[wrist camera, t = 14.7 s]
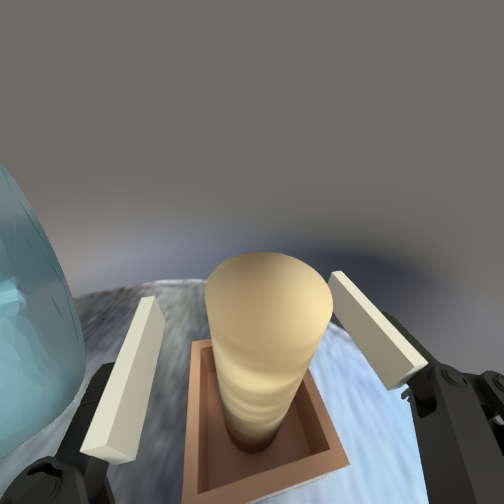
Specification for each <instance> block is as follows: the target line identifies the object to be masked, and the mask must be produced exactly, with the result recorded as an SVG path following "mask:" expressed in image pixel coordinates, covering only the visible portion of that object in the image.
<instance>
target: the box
mask: <svg viewBox="0 0 504 504" xmlns="http://www.w3.org/2000/svg"><path fill="white" fill-rule="evenodd" d="M349 465H350V463H349V461H348V458H347V456H346V454H345V451H344V449H343V447H342V444H341V442H340V440H339V437H338V435H337V433H336V431H335V428H334V426H333V424H332V421H331V419H330V417H329V414H328V412H327V410H326V407H325V405H324V403H323V400H322V398H321V396H320V393H319V391H318V389H317V387H316V384H315V382H314V380H313V377H312V375H311V373H310V370H309V368H307V370H306V372H305V374H304V376H303V378H302V381H301V383H300V385H299V387H298V389H297V391H296V394H295V396H294V398H293V400H292V402H291V404H290V406H289V409H288V411H287V413H286V415H285V417H284V419H283V421H282V424H281V426H280V428H279V430H278V432H277V434H276V436H275V438H274V440H273V442H272V443H271V444H270V445H269V446H268V447H267V448H266V449H264V450H263V451H261V452H258V453H247V452H244V451H242V450H240V449H239V448H237V447H236V446H235V445H234V444H233V442H232V441H231V439H230V438H229V436H228V433H227V430H226V427H225V421H224V415H223V409H222V402H221V396H220V390H219V384H218V378H217V371H216V365H215V359H214V353H213V346H212V340H211V338H208V339H203V340H198V341H193V342H192V347H191V363H190V378H189V393H188V408H187V424H186V439H185V454H184V470H183V485H182V500H181V504H254V503H257V502H260V501H262V500H265V499H268V498H270V497H273V496H276V495H279V494H281V493H284V492H287V491H289V490H292V489H295V488H297V487H300V486H303V485H306V484H308V483H311V482H314V481H316V480H319V479H322V478H325V477H327V476H329V475H331V474H333V473H335V472H337V471H339V470H341V469H343V468H345V467H347V466H349Z"/></svg>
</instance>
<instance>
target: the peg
mask: <svg viewBox="0 0 504 504" xmlns="http://www.w3.org/2000/svg"><path fill="white" fill-rule="evenodd" d="M205 303H206V309H207V315H208V322H209V328H210V334H211V340H212V346H213V353H214V359H215V365H216V371H217V378H218V384H219V390H220V396H221V402H222V409H223V415H224V421H225V427H226V430H227V433H228V436H229V438H230V439H231V441H232V442H233V444H234V445H235V446H236V447H237V448H239V449H240V450H242V451H244V452H247V453H258V452H261V451H263V450H264V449H266V448H267V447H268V446H269V445H270V444H271V443H272V442H273V440H274V438H275V436H276V434H277V432H278V430H279V428H280V426H281V424H282V421H283V419H284V417H285V415H286V413H287V411H288V409H289V406H290V404H291V402H292V400H293V398H294V396H295V394H296V391H297V389H298V387H299V385H300V383H301V381H302V378H303V376H304V374H305V372H306V370H307V368H308V366H309V363H310V361H311V359H312V357H313V355H314V353H315V351H316V348H317V346H318V344H319V342H320V340H321V338H322V336H323V333H324V331H325V329H326V327H327V325H328V323H329V320H330V318H331V315H332V311H333V300H332V295H331V292H330V289H329V287H328V285H327V284H326V282H325V281H324V279H323V278H322V277H321V276H320V275H319V274H318V273H317V272H316V271H315V270H314V269H313V268H311V267H310V266H309V265H307V264H305V263H304V262H302V261H300V260H298V259H296V258H293V257H290V256H287V255H284V254H280V253H274V252H249V253H244V254H240V255H237V256H234V257H232V258H230V259H228V260H226V261H225V262H223V263H221V264H220V265H219V266H218V267H217V268H216V269H215V270H214V271H213V272H212V274H211V275H210V277H209V279H208V281H207V283H206V287H205Z"/></svg>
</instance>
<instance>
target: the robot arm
mask: <svg viewBox="0 0 504 504" xmlns="http://www.w3.org/2000/svg"><path fill="white" fill-rule="evenodd" d="M328 287H329V289H330V292H331V295H332V300H333V312H334V313H335V315H336V316H337V318H338V319H339V321H340V322H341V324H342V325H343V326H344V327H345V329H346V331H347V332H348V334H349V335H350V337H351V338H352V339H353V341H354V342H355V344H356V345H357V347H358V348H359V350H360V351H361V352H362V354H363V355H364V357H365V358H366V360H367V361H368V363H369V364H370V366H371V367H372V368H373V370H374V371H375V373H376V374H377V376H378V377H379V379H380V380H381V381H382V383H383V384H384V386H385V387H386V389H387V390H388V391H389V390H393V389H397V388H400V387H401V386H402V385H404V384H405V383H406V384H407V385H408V386H409V388H407V389H406V390H405V391H404V392H403V393H402V394H401V399H403V400H404V399H405V398H406V397H408V396H409V398H408V400H407V401H408V402H410V406H411V411H412V417H413V422H414V427H415V432H416V438H417V443H418V448H419V453H420V459H421V464H422V469H423V474H424V480H425V485H426V490H427V496H428V501H429V504H504V425H501V424H500V423H499V422H497V420H496V419H495V417H496V416H499V415H500V417H501V418H502V420H503V421H504V375H502V374H500V373H497V372H494V371H486V372H484V373H482V374H481V375H475V374H469V373H462V372H459V371H457V370H456V369H455V368H453V367H451V366H449V365H446V364H442V363H440V362H438V361H437V360H436V359H435V358H434V357H433V356H432V355H431V354H430V353H429V352H428V351H427V350H426V349H425V348H424V347H423V346H422V345H421V344H420V343H419V342H418V341H417V340H416V339H415V338H414V337H413V336H412V335H411V334H409V332H408V331H407V330H406V329H405V328H404V327H402V325H401V324H400V323H399V322H398V321H397V320H396V319H395V318H394V317H392V316H391V315H389V314H388V313H386V312H380V311H379V310H378V309H377V308H376V307H375V306H374V305H373V304H372V303H371V302H370V301H369V300H368V299H367V298H366V297H365V296H364V295H363V294H362V293H361V291H360V290H359V289H358V288H357V287H356V286H355V285H354V284H353V283H352V282H351V281H350V280H349V279H348V278H347V277H346V276H345V275H344V273H343V272H341V271H337V272H332V273H331V277H330V279H329V283H328ZM165 325H166V321H165V319H164V316H163V314H162V312H161V309H160V307H159V305H158V302H157V300H156V298H155V296H150V297H143V298H141V301H140V303H139V306H138V308H137V311H136V313H135V316H134V318H133V321H132V323H131V325H130V328H129V330H128V333H127V335H126V338H125V340H124V343H123V345H122V348H121V350H120V353H119V355H118V358H117V360H116V362H112V363H107V364H103V365H102V366H101V367H100V368H99V370H98V371H97V372H96V373H95V374H94V376H93V377H92V379H91V381H90V383H89V385H88V387H87V390H86V393H85V394H84V396H83V398H82V400H81V402H80V406H78V409H77V411H76V413H75V415H74V417H73V419H72V421H71V423H70V425H69V428H68V430H67V432H66V434H65V436H64V438H63V440H62V442H61V444H60V447H59V449H58V451H57V453H56V455H55V456H54V457H51V456H47V457H44V458H41V459H38V460H37V461H35V462H34V463H32V464H31V465H29V466H28V467H26V468H25V469H24V470H23V471H22V472H21V473H20V474H19V475H18V476H17V477H16V478H15V479H14V481H13V482H12V483H11V484H10V486H9V487H8V488H7V490H6V491H5V492H4V494H3V496H2V498H1V500H0V504H116V503H115V500H114V497H113V493H112V490H111V487H110V484H109V480H108V477H107V476H106V472H107V469H108V466H109V463H110V464H113V465H119V464H122V463H126V462H130V461H133V460H135V459H136V455H137V450H138V446H139V441H140V437H141V432H142V428H143V423H144V419H145V414H146V410H147V405H148V401H149V396H150V392H151V388H152V383H153V379H154V374H155V370H156V365H157V361H158V356H159V352H160V347H161V343H162V338H163V334H164V329H165ZM85 368H86V350H85V343H84V337H83V332H82V328H81V324H80V320H79V316H78V313H77V310H76V307H75V303H74V300H73V298H72V295H71V292H70V290H69V287H68V285H67V281H66V279H65V276H64V274H63V271H62V269H61V266H60V264H59V262H58V259H57V257H56V255H55V252H54V250H53V248H52V246H51V244H50V242H49V240H48V238H47V236H46V233H45V231H44V229H43V227H42V226H41V224H40V222H39V220H38V218H37V216H36V214H35V212H34V211H33V209H32V207H31V205H30V204H29V202H28V200H27V199H26V197H25V195H24V194H23V192H22V191H21V189H20V188H19V186H18V185H17V183H16V182H15V180H14V179H13V177H12V176H11V175H10V174H9V172H8V171H7V170H6V169H5V168H4V167H3V166H1V165H0V459H1V458H2V457H4V456H5V455H6V454H8V453H9V452H11V451H12V450H14V449H15V448H16V447H18V446H19V445H21V444H22V443H24V442H25V441H26V440H28V439H29V438H31V437H32V436H34V435H35V434H36V433H38V432H39V431H41V430H42V429H44V428H45V427H46V426H47V425H49V424H50V423H51V422H52V421H54V420H55V419H56V418H57V417H58V416H59V415H60V414H61V413H62V412H63V411H64V410H65V409H66V408H67V407H68V405H69V404H70V403H71V402H72V400H73V399H74V397H75V396H76V394H77V392H78V390H79V388H80V386H81V384H82V381H83V378H84V374H85Z"/></svg>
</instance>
